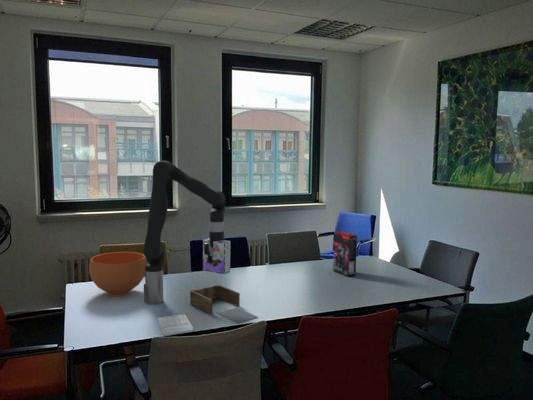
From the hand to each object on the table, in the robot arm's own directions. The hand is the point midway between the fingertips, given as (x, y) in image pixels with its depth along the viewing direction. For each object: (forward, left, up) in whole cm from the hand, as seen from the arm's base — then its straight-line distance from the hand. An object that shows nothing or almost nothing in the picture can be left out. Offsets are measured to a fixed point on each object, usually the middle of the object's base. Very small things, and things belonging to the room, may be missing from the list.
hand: (216, 261), depth 231 cm
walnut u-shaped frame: (0, +1, -24) cm, 24 cm away
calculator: (-30, -10, -24) cm, 40 cm away
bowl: (-31, +51, -24) cm, 64 cm away
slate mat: (0, -18, -24) cm, 30 cm away
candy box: (0, 0, -5) cm, 5 cm away
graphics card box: (+103, -1, -24) cm, 106 cm away
